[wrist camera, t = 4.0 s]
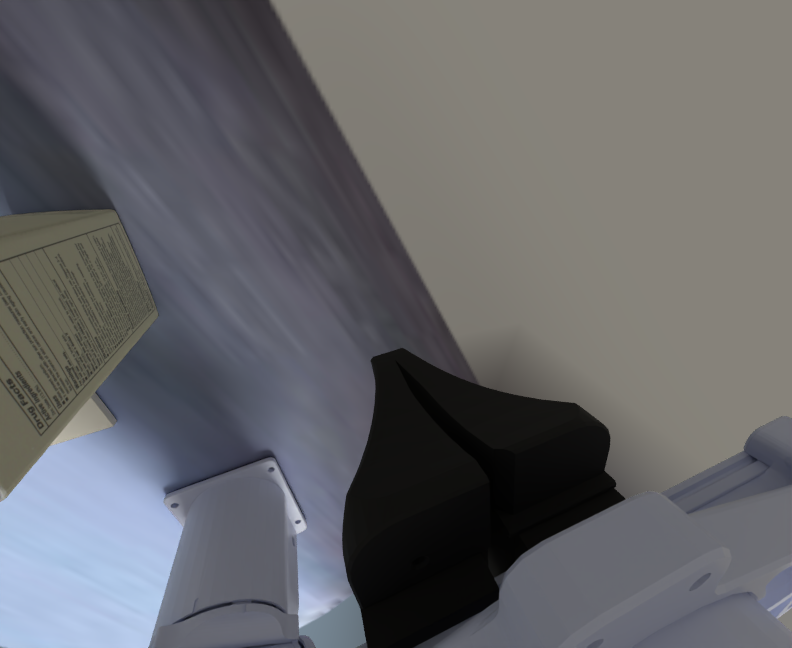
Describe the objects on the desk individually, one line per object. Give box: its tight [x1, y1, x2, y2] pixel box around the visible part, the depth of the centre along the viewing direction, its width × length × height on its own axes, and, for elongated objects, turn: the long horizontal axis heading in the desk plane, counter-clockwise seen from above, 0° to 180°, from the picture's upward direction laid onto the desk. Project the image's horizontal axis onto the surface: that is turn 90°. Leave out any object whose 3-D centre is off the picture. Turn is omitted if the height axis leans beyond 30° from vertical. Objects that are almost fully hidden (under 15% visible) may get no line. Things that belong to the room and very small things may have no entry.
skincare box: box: [0, 209, 158, 502], centre depth 11 cm, size 6×4×12 cm
